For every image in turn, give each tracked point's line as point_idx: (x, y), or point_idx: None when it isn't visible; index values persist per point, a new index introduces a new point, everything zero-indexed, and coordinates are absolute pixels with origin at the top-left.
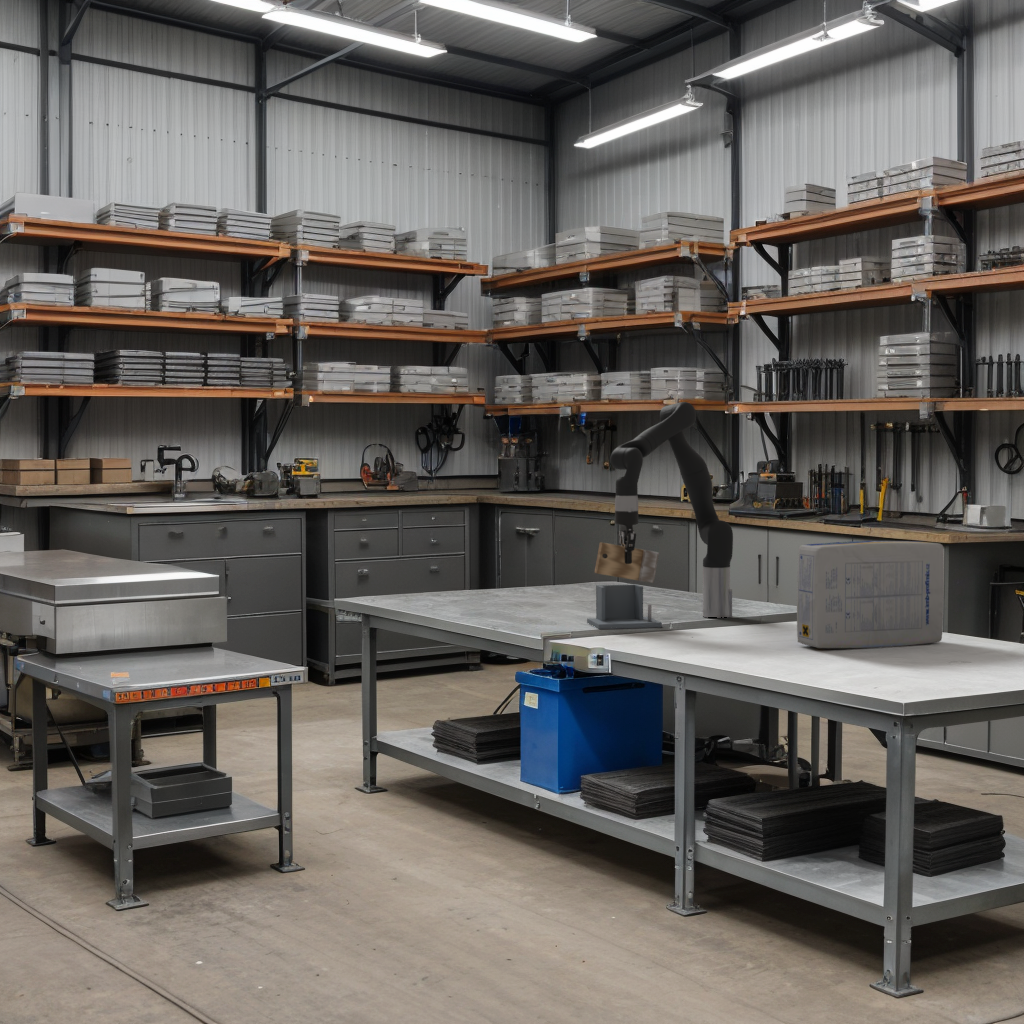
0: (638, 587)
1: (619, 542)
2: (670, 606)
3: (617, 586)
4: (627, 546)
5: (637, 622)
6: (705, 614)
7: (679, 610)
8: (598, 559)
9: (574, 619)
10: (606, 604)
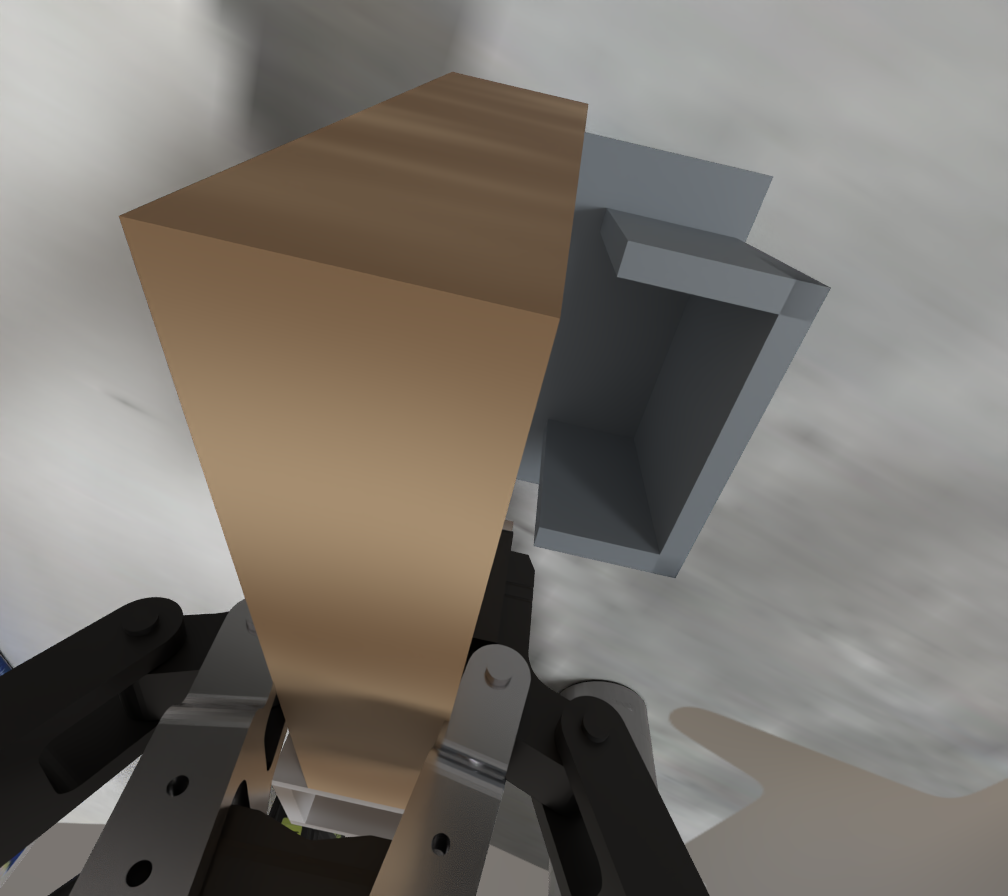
0: (564, 527)
1: (616, 822)
2: (948, 747)
3: (707, 445)
4: (49, 649)
5: None
6: (600, 690)
7: (827, 715)
8: (445, 115)
9: (975, 179)
10: (711, 317)
